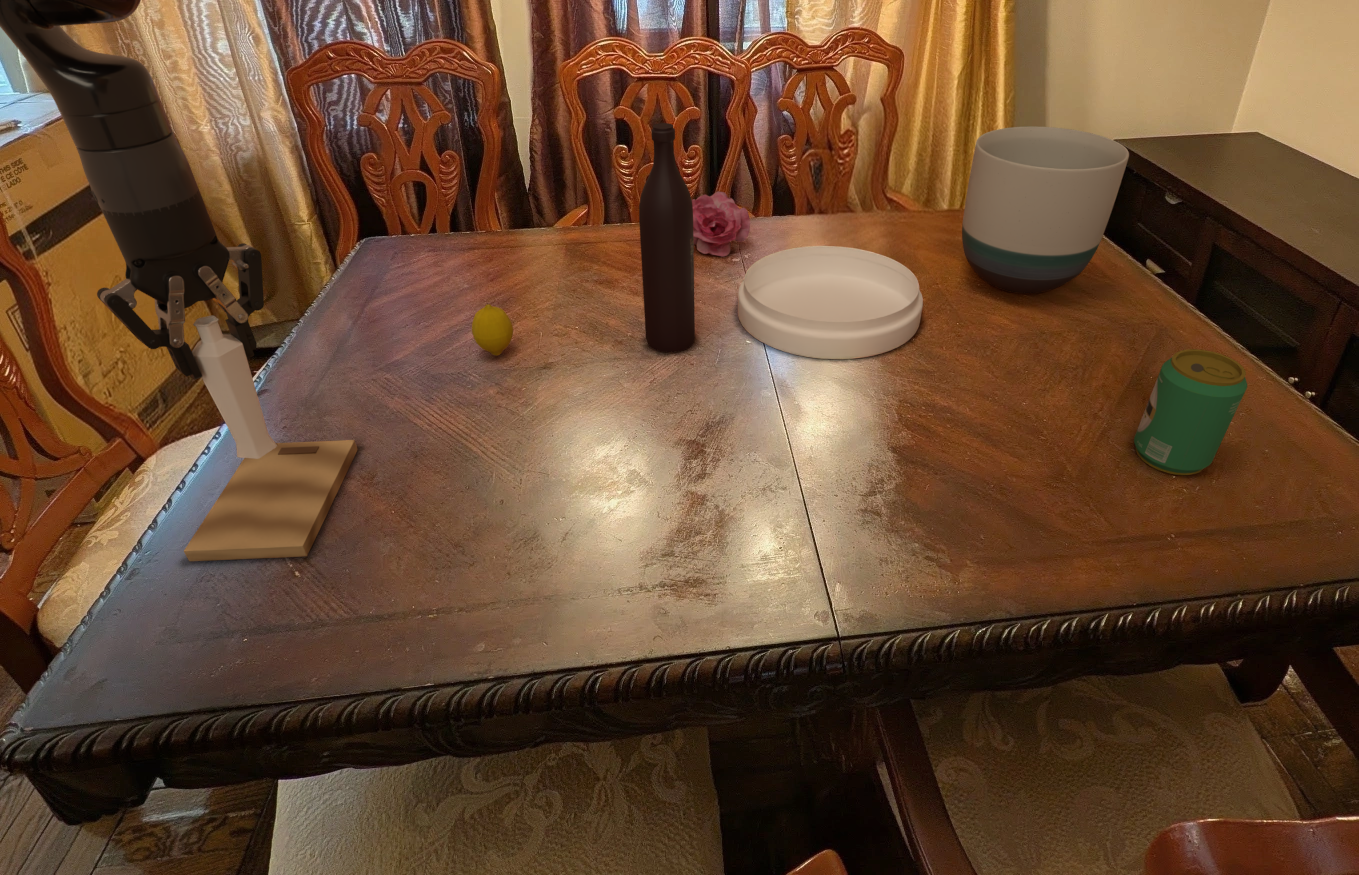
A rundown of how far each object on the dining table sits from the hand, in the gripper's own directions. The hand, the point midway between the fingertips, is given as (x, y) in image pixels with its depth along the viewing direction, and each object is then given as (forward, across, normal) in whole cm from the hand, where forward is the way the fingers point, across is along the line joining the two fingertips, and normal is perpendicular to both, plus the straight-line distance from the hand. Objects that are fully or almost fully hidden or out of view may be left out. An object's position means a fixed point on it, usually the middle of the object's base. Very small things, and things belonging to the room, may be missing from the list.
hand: (221, 364), depth 78 cm
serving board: (+18, 0, 0) cm, 18 cm away
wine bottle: (+18, +54, -10) cm, 58 cm away
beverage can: (+18, +70, -72) cm, 102 cm away
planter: (+18, +102, -41) cm, 111 cm away
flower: (+18, +84, +6) cm, 86 cm away
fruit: (+18, +36, +7) cm, 40 cm away
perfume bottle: (+11, 0, 0) cm, 11 cm away
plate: (+18, +75, -23) cm, 80 cm away
